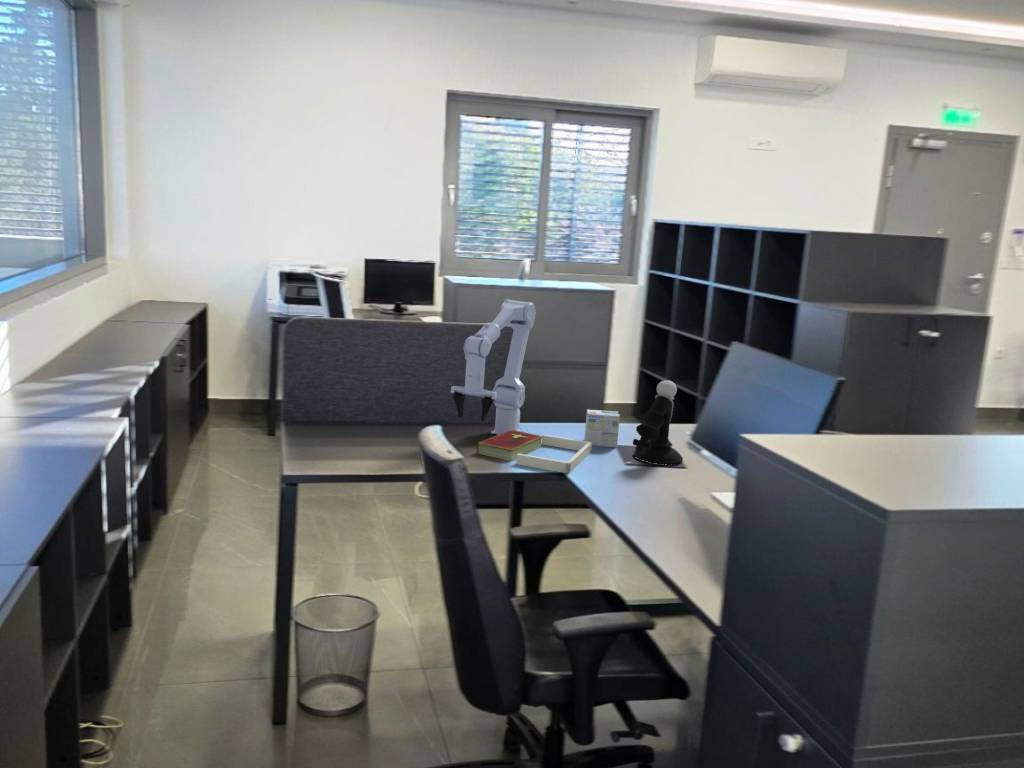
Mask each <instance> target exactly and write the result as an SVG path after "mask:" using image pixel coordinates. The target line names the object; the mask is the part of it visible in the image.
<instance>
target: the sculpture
mask: <svg viewBox="0 0 1024 768" xmlns="http://www.w3.org/2000/svg"><path fill="white" fill-rule="evenodd" d="M677 391H678V388H677V385H676V383H674V382H673V381H672V380H667V379H666V380H661V381H660V382H658V384H657V386H656V393H657V394H655V396H654V401H653V403H652V405H651V406H650V409H649V410H646V411H645V412H644V414H643V420H642V422H641V423H640V424H639V425H637V426H636V428H635V429H636V433H637V434H638V435H639V436H640V438H639V439H637V438H633V440H632V445H633V446H635V450H634V451H633V457H634V456H635V457H637V458H639V459H641V460H644V461H648V462H651V463H657V464H664V465H665V464H667V465H671V464H672V465H673V466H675V465H674V464H679V465H681V464H682V463H683V460H684V459H683V458H684V457H683V456H682V455H681V453H680V452H679V451H677V450H676V449H675V448H673V443H672V442H671V441H670V439H669V437H670V435H669V434H670V424H671V421H672V420H671V419H672V416H673V413H674V412H673V411H674V409H673V408H674V405H675V404H674V401H673V400H674V399H675V395H677ZM635 457H634V458H635ZM681 462H682V463H681ZM680 463H681V464H680Z"/></svg>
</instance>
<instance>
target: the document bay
mask: <svg viewBox="0 0 1024 768" xmlns="http://www.w3.org/2000/svg"><path fill="white" fill-rule="evenodd" d="M541 436H543V438H542V439H541V445H543V446H550V447H556V448H562V449H568V450H573V451H577V452H576V453H575V454H573V456H572V457H571V458H570V459H569V460H567V461H566V460H565V461H563V460H557V459H553V458H552V459H551V458H547V457H540V456H534V455H529V454H525V455H524V454H519V453H518V454H517V458H516V459H515V460H516V461H515V462H516V463H515V464H516V465H518V466H524V467H530V468H536V469H541V470H547V471H552V472H559V473H564V474H571V472H572V471H574V469H576V467H578V466H579V464H581V463H582V461H584V459H585V458H587V457H588V456H589V455H590V454H591V453H592V450H593V449H592V448H593V446H592V442H586V441H584V440H579V439H575V438H574V439H573V438H568V437H561V436H555V435H549V434H542V435H541Z"/></svg>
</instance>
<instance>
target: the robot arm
mask: <svg viewBox="0 0 1024 768" xmlns="http://www.w3.org/2000/svg"><path fill="white" fill-rule="evenodd" d="M536 314H537V310H536V308H535V304H534V303H533V302H531V301H530V302H526V301H521V300H520V301H519V300H514V299H509V298H507V299H505V300H504V301H503V303H502V304H501V307H500V312H499V313H498V314H497V315H496V317H495V318H494V319H493V321H492V322H485V324H484V325H483V326H482V327H481V328H480V329H479V330H478V331H477V332H476V333H475V334H474V335H470V336H469V337H467V338H466V339H465V341H464V345H463V347H462V348H463V353H464V358H465V360H466V363H465V364H466V365H465V377H464V378H465V380H464V386H458V385H453V386H451V387H450V394H453V395H452V399H453V401H454V404H455V406H456V410H457V415H458V416H457V417H458V418H462V417H463V416H464V409H465V408H464V406H465V399H466V395H467V396H472V397H481V398H482V399H481V422H485V421H487V420H486V419H487V416H488V413H489V410H490V408H491V406H492V404H493V403H494V406H495V407H496V409H495V421H494V422H495V424H494V429H493V430H491V431H490V434H493V435H499V434H501V433H504V432H507V431H509V430H516V431H521V432H523V430H522V429H520V420H521V410H520V408H522V406H523V405H524V403H525V399H526V395H525V392H526V391H525V390H526V385H524V384H523V382H522V381H521V380H520V377H521V373H522V367H523V363H524V358H525V353H526V348H527V343H528V338H529V334H530V330H531V329H533V328H534V323H535V319H536ZM507 325H509V326H510V327H512V329H513V332H512V336H511V341H510V345H509V350H508V355H507V360H506V365H505V369H504V375H503V376H502V377H501V378H499V379H497V380H496V382H495V384H494V387H493V389H492V390H489V389H485V388H484V387H485V372H486V370H485V369H486V357H487V356H488V355H489V354H490V351H491V349H492V346H493V345H492V344H494V343H495V342H496V341H497V340H498V338H500V336H501V330H503V329H504V328H505V327H506V326H507Z"/></svg>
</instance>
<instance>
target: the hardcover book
mask: <svg viewBox="0 0 1024 768" xmlns="http://www.w3.org/2000/svg"><path fill="white" fill-rule="evenodd" d="M542 438H543V436H542V435H540V434H539V435H538V434H533V433H530V432H526V431H525V432H524V431H516V430H509V431H507V432H504V433H501V434H499V435H497V434H495V436H492V437H490V438H487V439H484V440H482V441H479V442H477V445H476V454H477V455H483V456H487V457H492V458H495V459H500V460H505V461H509V462H511V461H514V460H516V459H517V454H518V453H519V454H524V455H528V453H529V454H530V453H531V452H533V451H535V450H537V449H540V448H541V447H542Z"/></svg>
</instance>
